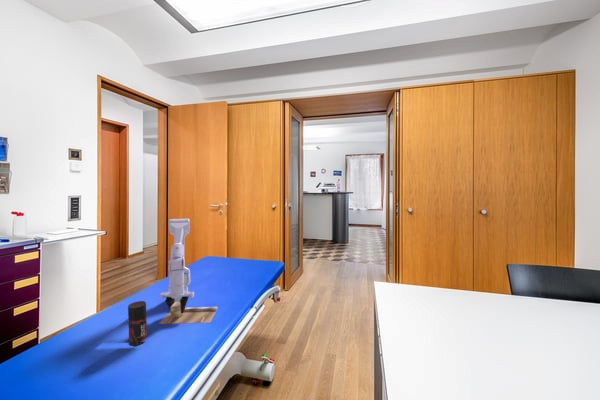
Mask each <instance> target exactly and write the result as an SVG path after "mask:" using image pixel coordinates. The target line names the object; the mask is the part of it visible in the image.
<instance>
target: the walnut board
mask: <svg viewBox="0 0 600 400" xmlns="http://www.w3.org/2000/svg"><path fill="white" fill-rule="evenodd" d="M218 309H219V308H218V306H198V307H197V306H195V307H193V306H191V307H190V306H189V307H186V306H185V311H184V313H183V314H182V316H181V317H176V318H171V312H170V311H169V312H168V313H167V314H166V315H165V316H164V317H163V318H162V319H161V320H160V322H159V323H158V325H164V324H165V325H167V324H170V325H171V324H172V325H173V324H204V323H205V324H209V323H211V322H212V320H213V319H214V316H215V315H216V313H217V311H218Z"/></svg>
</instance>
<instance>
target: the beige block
mask: <svg viewBox="0 0 600 400" xmlns="http://www.w3.org/2000/svg"><path fill="white" fill-rule="evenodd" d="M183 313H184V312H183ZM183 313H181V304H180V302H175V303H174V304H173V305H172V306H171V318H176V317H181V316H182V314H183Z"/></svg>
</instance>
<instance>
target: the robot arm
mask: <svg viewBox="0 0 600 400" xmlns="http://www.w3.org/2000/svg"><path fill="white" fill-rule="evenodd" d="M190 222H191V220H190V218H188V217H187V218H170V219H169V220H168V230H169V234H170V236H173V245H171V246H170V259H169V260H168V273H169V275H168V284H169V285H168V288H167V291H165V292H164V291H163V292H161V293H160V295H159V296H160V297H159V298H160V299H164V298H165V300H164V302H165V304H166V305H167V306H168V308H169V312H171V306H172V305H173V304H174V303H175V302H180V304H181V313H183V312H184V311H185V307H186V305H187V302H188V300H189V298H192V299H193V298H194V297H195V291H189V286H188V285H190V284H191V270H190V268H188V267H186V261H185V239H186V236H187V235H189V234H190V227H191V226H190V225H191V224H190Z"/></svg>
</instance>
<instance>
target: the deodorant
mask: <svg viewBox="0 0 600 400" xmlns="http://www.w3.org/2000/svg"><path fill="white" fill-rule="evenodd" d="M127 313H128V314H127V318H128V319H127V320H128V321H127V322H128V345H129V346H131V347H139V346H141V345H144V343H146V341H144V340H145V339H146V338H147V336H148V333H147V331H148V327H147V326H148V325H147V323H148V322H147V302H146V301H145V300H138V301H133V302H132V303H130V304H128V306H127Z"/></svg>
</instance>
